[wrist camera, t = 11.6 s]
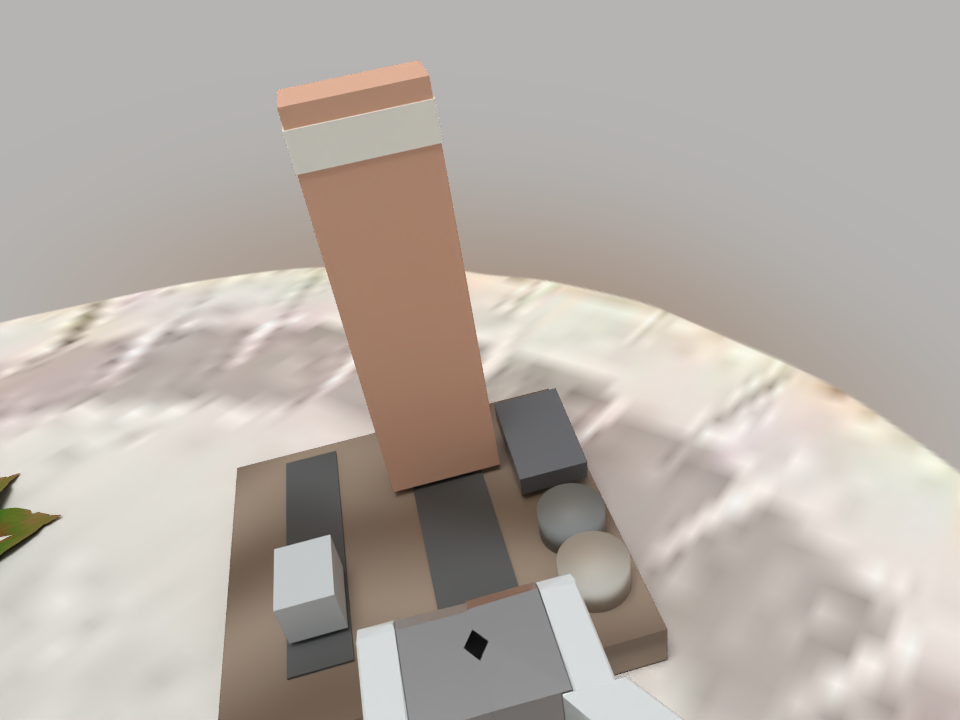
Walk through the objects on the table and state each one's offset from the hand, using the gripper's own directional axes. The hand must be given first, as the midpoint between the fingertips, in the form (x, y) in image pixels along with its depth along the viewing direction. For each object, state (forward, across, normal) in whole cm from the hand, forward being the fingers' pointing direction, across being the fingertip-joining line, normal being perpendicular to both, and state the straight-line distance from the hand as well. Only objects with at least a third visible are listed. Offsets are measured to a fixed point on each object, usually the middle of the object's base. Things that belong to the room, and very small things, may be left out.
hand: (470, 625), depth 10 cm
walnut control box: (+12, +1, +12) cm, 17 cm away
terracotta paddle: (+15, -1, +10) cm, 18 cm away
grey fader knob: (+10, +4, +11) cm, 15 cm away
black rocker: (+14, -4, +10) cm, 17 cm away
